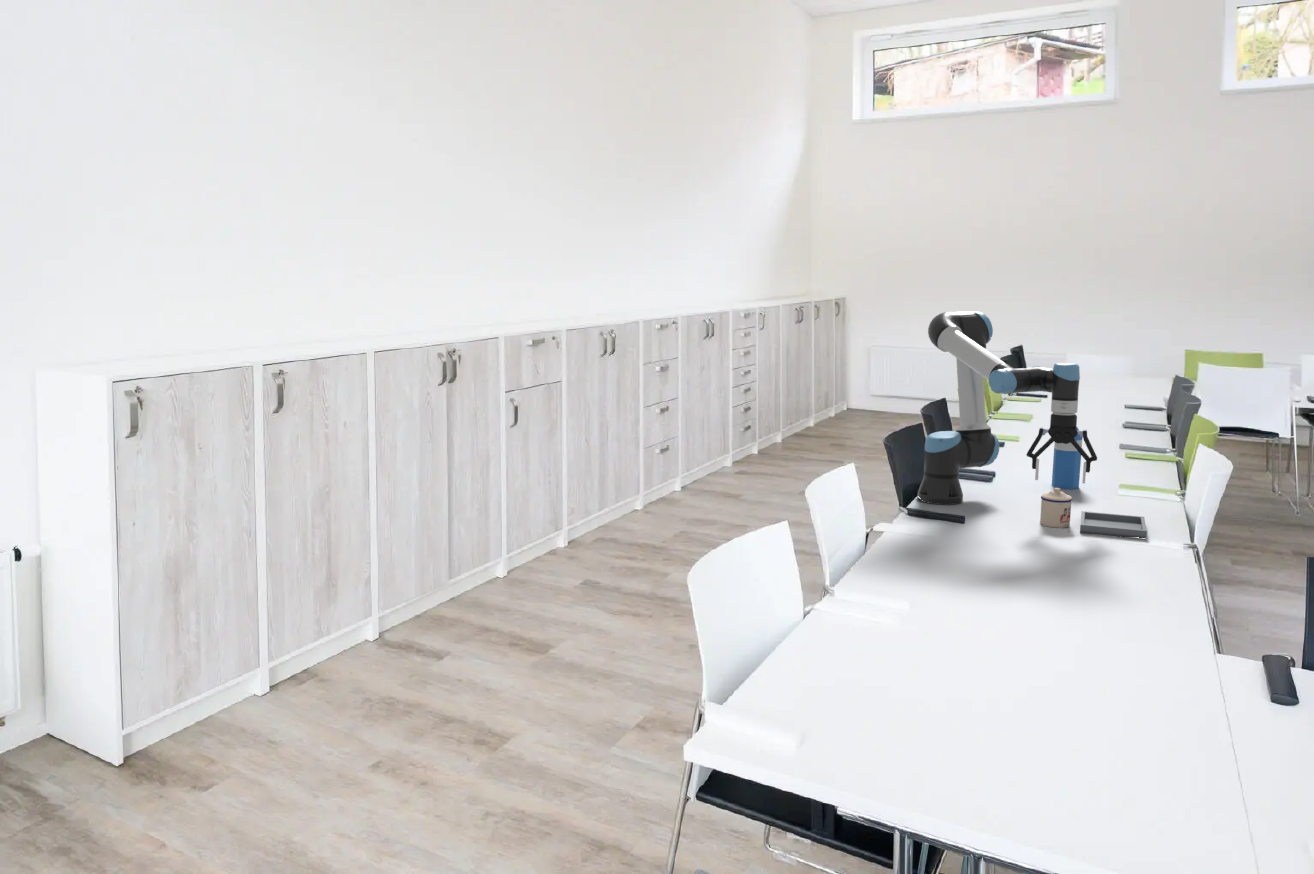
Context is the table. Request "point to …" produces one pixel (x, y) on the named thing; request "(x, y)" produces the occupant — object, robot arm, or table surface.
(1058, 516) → the teacup with lid
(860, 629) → the table surface
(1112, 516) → the tray
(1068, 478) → the water bottle
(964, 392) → the robot arm
